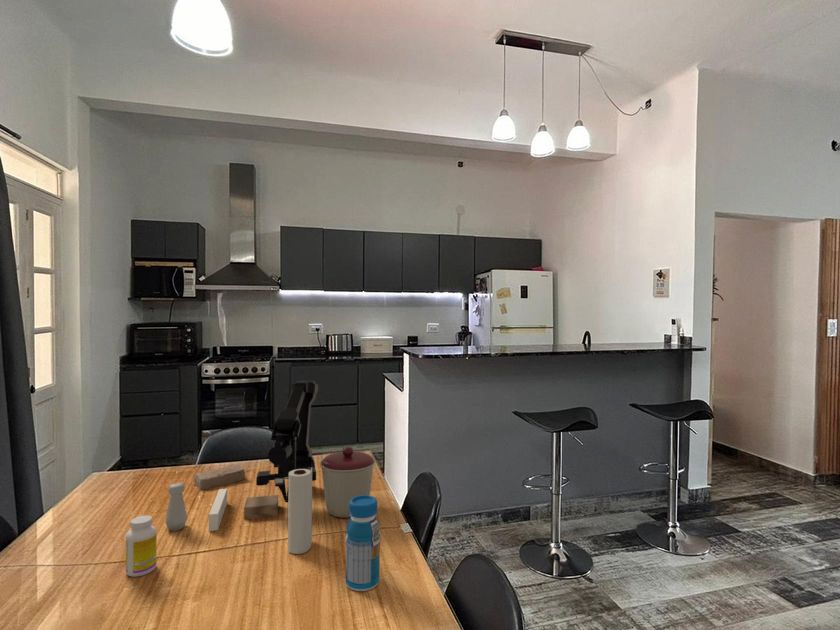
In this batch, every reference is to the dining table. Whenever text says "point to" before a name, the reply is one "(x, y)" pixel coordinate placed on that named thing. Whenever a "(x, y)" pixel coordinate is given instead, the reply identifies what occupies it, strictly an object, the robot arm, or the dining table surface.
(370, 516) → the beverage bottle
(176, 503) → the salt shaker
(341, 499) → the canister
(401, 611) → the dining table surface
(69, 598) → the dining table surface
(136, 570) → the supplement bottle
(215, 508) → the plank
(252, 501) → the walnut block
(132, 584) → the dining table surface
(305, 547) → the paper towel roll
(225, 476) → the brick
